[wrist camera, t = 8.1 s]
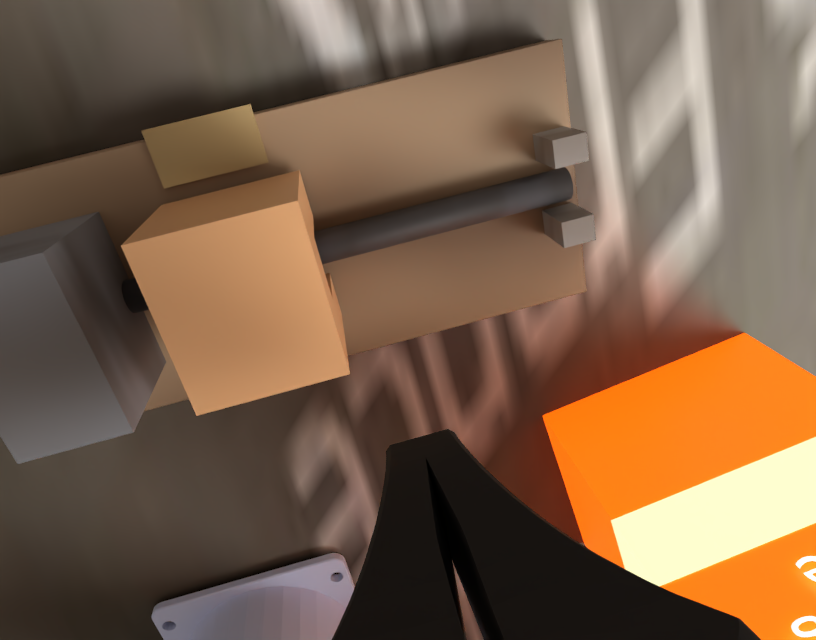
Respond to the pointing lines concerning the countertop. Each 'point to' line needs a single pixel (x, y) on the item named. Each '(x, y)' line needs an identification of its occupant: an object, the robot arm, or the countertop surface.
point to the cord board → (333, 229)
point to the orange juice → (704, 481)
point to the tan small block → (240, 292)
